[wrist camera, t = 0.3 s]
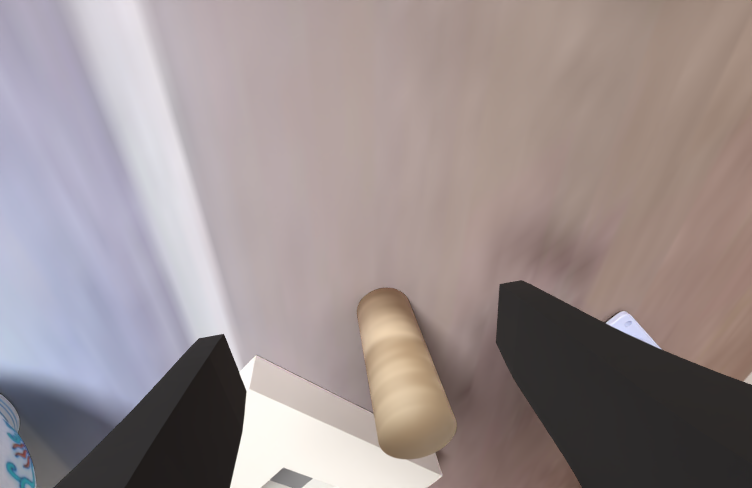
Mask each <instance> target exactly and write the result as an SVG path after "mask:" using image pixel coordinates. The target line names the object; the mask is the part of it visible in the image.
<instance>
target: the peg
mask: <svg viewBox="0 0 752 488" xmlns="http://www.w3.org/2000/svg"><path fill="white" fill-rule="evenodd" d="M357 317H358V323H359V329H360V335H361V341H362V347H363V353H364V359H365V365H366V371H367V377H368V383H369V389H370V395H371V401H372V407H373V412H374V418H375V424H376V430H377V436H378V442H379V446H380V448H381V449H382V451H383V452H384V453H386V454H387V455H389V456H391V457H394V458H398V459H417V458H422V457H425V456H428V455H431V454H433V453H435V452H437V451H439V450H440V449H442V448H443V447H445V446H446V445H447V444H448V443H449V442H450V441H451V439H452V438H453V436H454V435H455V432H456V429H457V423H456V419H455V417H454V414H453V412H452V409H451V407H450V404H449V401H448V399H447V396H446V394H445V391H444V389H443V386H442V384H441V381H440V379H439V376H438V374H437V371H436V369H435V366H434V364H433V361H432V358H431V356H430V353H429V351H428V348H427V346H426V343H425V341H424V338H423V336H422V333H421V331H420V328H419V326H418V323H417V320H416V318H415V315H414V313H413V310H412V308H411V305H410V303H409V300H408V298H407V297H406V295H405V294H403V293H402V292H401V291H399V290H397V289H393V288H380V289H376V290H374V291H372V292H370V293H368V294H367V295H366V296H364V297H363V298H362V300H361V301H360V303H359V305H358V308H357Z"/></svg>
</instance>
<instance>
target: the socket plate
mask: <svg viewBox="0 0 752 488" xmlns="http://www.w3.org/2000/svg"><path fill="white" fill-rule="evenodd" d="M239 373H240V376H241V378H242V381H243V383H244V386H245V388H246V391H247V393H246V404H245V415H244V423H243V432H242V436H241V441H240V446H239V450H238V455H237V459H236V463H235V468H234V472H233V477H232V481H231V485H230V488H427V487H429V486H430V485H431V484H433V483H434V482H435V481H437V480H438V479H439V478H441V477H442V473H441V469H440V466H439V463H438V460H437V456H436V453H433V454H431V455H428V456H425V457H422V458H417V459H398V458H394V457H391V456H389V455H387V454H386V453H384V452H383V451H382V449H381V448H380V446H379V442H378V436H377V430H376V424H375V418H374V414H373V413H371V412H369V411H367V410H365V409H363V408H361V407H359V406H357V405H355V404H353V403H351V402H349V401H347V400H345V399H343V398H341V397H339V396H337V395H335V394H333V393H331V392H329V391H327V390H325V389H323V388H321V387H319V386H317V385H315V384H313V383H311V382H309V381H307V380H305V379H303V378H301V377H299V376H297V375H295V374H293V373H291V372H289V371H287V370H285V369H283V368H281V367H279V366H277V365H275V364H273V363H271V362H269V361H267V360H265V359H263V358H261V357H259V356H257V355H255V356H254V358H253V359H252V360H251V361H250V362H249V363H248V364H247V365H246V366H245V367H244V368H243V369H242V370H241V371H240V372H239Z"/></svg>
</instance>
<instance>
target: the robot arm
mask: <svg viewBox="0 0 752 488" xmlns="http://www.w3.org/2000/svg"><path fill="white" fill-rule="evenodd" d="M496 344H497V346H498V348H499V350H500V352H501V354H502V356H503V359H504V361H505V363H506V365H507V367H508V369H509V371H510V373H511V375H512V377H513V378H514V380H515V381H516V383H517V385H518V386H519V388H520V389H521V391H522V393H523V394H524V396H525V397H526V399H527V400H528V402H529V403H530V405H531V407H532V408H533V410H534V411H535V413H536V414H537V416H538V417H539V419H540V420H541V422H542V423H543V425H544V427H545V428H546V430H547V431H548V433H549V434H550V436H551V437H552V439H553V440H554V442H555V443H556V445H557V447H558V448H559V450H560V451H561V453H562V454H563V456H564V457H565V459H566V461H567V462H568V464H569V466H570V467H571V469H572V471H573V472H574V474H575V476H576V477H577V479H578V481H579V483H580V485H581V486H582V488H752V385H751V384H747V383H745V382H742V381H740V380H737V379H734V378H731V377H729V376H726V375H723V374H721V373H718V372H716V371H713V370H710V369H708V368H705V367H703V366H700V365H698V364H695V363H693V362H690V361H688V360H685V359H683V358H680V357H678V356H676V355H673V354H671V353H668V352H666V351H664V350H662V349H661V348H660V347H659V346H658V345H657V344H656V343H655V341H654V340H653V339H652V338H651V337H650V336H649V335H648V334H647V333H646V332H645V330H644V329H643V328H642V327H641V326H640V325H639V324H638V323H637V322H636V320H635V319H634V318H633V317H632V316H631V315H630V314H629V313H627V312H626V311H622V312H619V313H618V314H616V315H615V316H614V317H612V318H611V319H610V320H608V321H607V322H606V323H604V322H602V321H600V320H598V319H596V318H594V317H592V316H590V315H588V314H586V313H584V312H582V311H580V310H579V309H577V308H575V307H573V306H571V305H569V304H567V303H565V302H563V301H561V300H560V299H558V298H556V297H554V296H552V295H550V294H548V293H546V292H544V291H542V290H540V289H539V288H537V287H535V286H533V285H531V284H528V283H526V282H524V281H522V280H521V281H515V282H510V283H504V284H500V288H499V303H498V319H497V335H496ZM246 393H247V391H246V388H245V386H244V383H243V381H242V378H241V376H240V373H239V371H238V368H237V366H236V363H235V361H234V358H233V356H232V353H231V351H230V348H229V346H228V343H227V341H226V338H225V336H224V334H221V335H216V336H210V337H205V338H199V339H198V340H197V341H196V342H195V343H194V344H193V345H192V346H191V347H190V348H189V349H188V350H187V351H186V352H185V354H184V355H183V356H182V357H181V358H180V359H179V360H178V361H177V362H176V363H175V364H174V366H173V367H172V368H171V369H170V370H169V371H168V372H167V373H166V374H165V375H164V377H163V378H162V379H161V380H160V381H159V382H158V383H157V384H156V385H155V386H154V387H153V389H152V390H151V391H150V392H149V393H148V394H147V395H146V396H145V397H144V398H143V399H142V400H141V401H140V403H139V404H138V405H137V406H136V407H135V408H134V409H133V410H132V411H131V412H130V413H129V414H128V415H127V416H126V417H125V418H124V419H123V420H122V421H121V422H120V423H119V424H118V425H117V426H116V427H115V428H114V429H113V430H112V431H111V432H110V433H109V434H108V435H107V436H106V437H105V438H104V439H103V440H102V441H101V442H100V443H99V444H98V445H97V446H96V447H95V448H94V449H93V450H92V451H91V452H90V453H89V454H88V456H87V457H86V458H85V459H83V460H82V461H81V462H80V463H79V464H78V465H77V466H76V467H75V468H74V469H73V470H72V471H71V472H70V473H69V474H68V475H67V476H66V477H64V478H63V479H62V480H61V481H60V482H59V483H58V484H57V485H56V486H55V487H54V488H230V485H231V481H232V477H233V472H234V468H235V463H236V459H237V455H238V450H239V446H240V441H241V436H242V432H243V423H244V415H245V404H246Z"/></svg>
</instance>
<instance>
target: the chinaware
mask: <svg viewBox="0 0 752 488" xmlns="http://www.w3.org/2000/svg"><path fill="white" fill-rule="evenodd" d="M19 427H20V420H19V416H18V413H17V411H16V410H15V408H14V407H13V405H12V404H11V403H10V402H9V401H8V400H7V399H6V398H5V397H4V396H2V395H1V394H0V488H37V485H36V477H35V471H34V467H33V463H32V460H31V457H30V454H29V452H28V450H27V448H26V446H25V444H24V442H23V440H22V439H21V437H20V436H19V434H18V431H19Z"/></svg>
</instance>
